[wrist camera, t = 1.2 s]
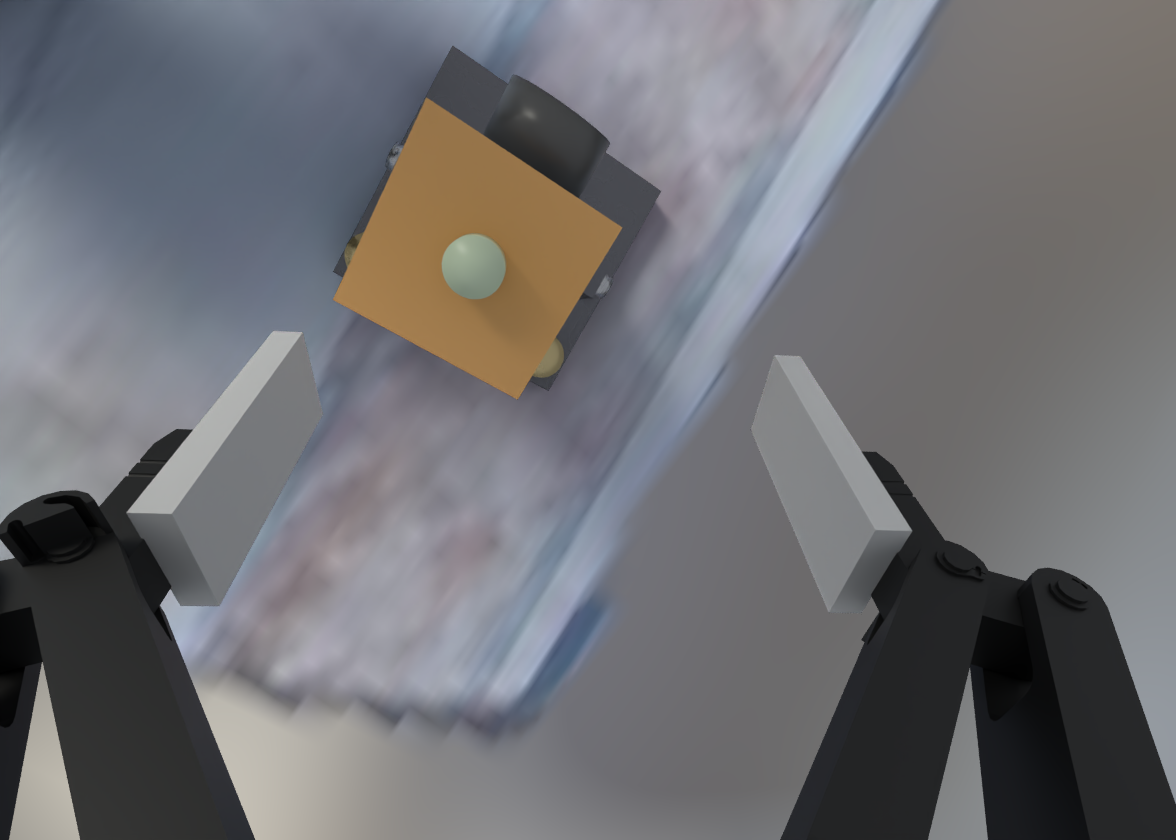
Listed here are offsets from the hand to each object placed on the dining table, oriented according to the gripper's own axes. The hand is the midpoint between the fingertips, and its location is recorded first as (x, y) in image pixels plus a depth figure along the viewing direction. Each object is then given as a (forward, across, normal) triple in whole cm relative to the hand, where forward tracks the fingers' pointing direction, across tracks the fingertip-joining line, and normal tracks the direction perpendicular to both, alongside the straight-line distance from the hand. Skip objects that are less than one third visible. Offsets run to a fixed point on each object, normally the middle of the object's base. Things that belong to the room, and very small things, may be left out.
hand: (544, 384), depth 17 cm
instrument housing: (+24, -2, -3) cm, 24 cm away
